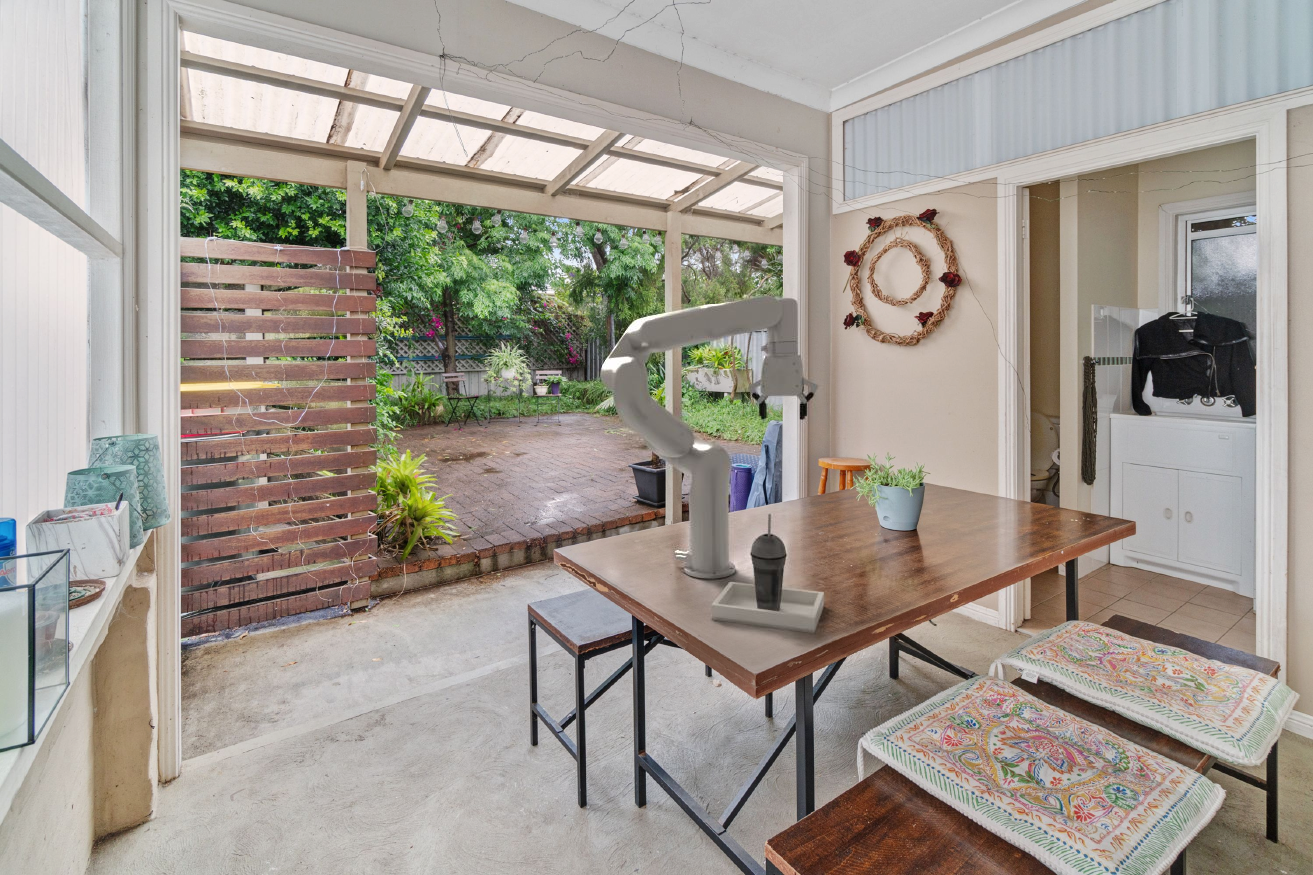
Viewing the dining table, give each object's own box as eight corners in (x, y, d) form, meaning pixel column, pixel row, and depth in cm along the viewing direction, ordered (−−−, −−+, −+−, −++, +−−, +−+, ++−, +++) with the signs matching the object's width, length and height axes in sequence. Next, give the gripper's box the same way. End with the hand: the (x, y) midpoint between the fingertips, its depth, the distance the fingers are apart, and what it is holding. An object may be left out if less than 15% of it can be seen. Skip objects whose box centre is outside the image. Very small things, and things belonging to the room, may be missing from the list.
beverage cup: (782, 601, 131) (782, 508, 129) (790, 615, 124) (790, 516, 122) (747, 602, 131) (747, 509, 129) (754, 616, 124) (753, 517, 122)
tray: (711, 619, 125) (711, 604, 124) (730, 594, 138) (729, 581, 137) (814, 633, 117) (814, 617, 117) (823, 606, 130) (823, 592, 130)
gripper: (743, 351, 155) (745, 420, 157) (815, 348, 148) (815, 421, 150) (752, 351, 161) (752, 417, 163) (820, 348, 154) (820, 418, 156)
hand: (782, 419), depth 156 cm, fingers open, 9 cm apart
